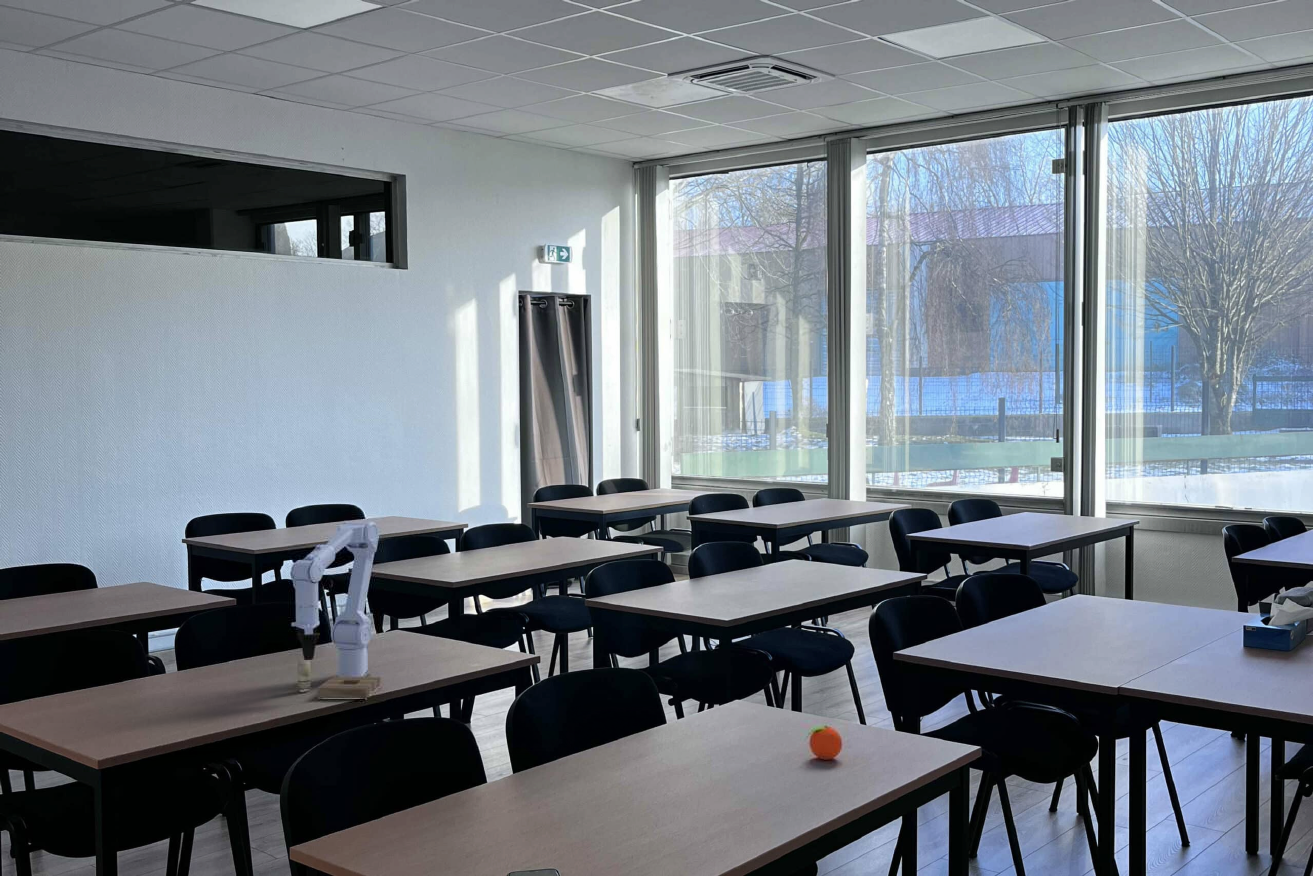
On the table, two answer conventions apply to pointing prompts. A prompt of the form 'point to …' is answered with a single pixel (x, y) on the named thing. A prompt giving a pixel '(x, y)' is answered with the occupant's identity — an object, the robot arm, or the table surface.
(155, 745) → the table surface
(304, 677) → the peg
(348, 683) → the board
